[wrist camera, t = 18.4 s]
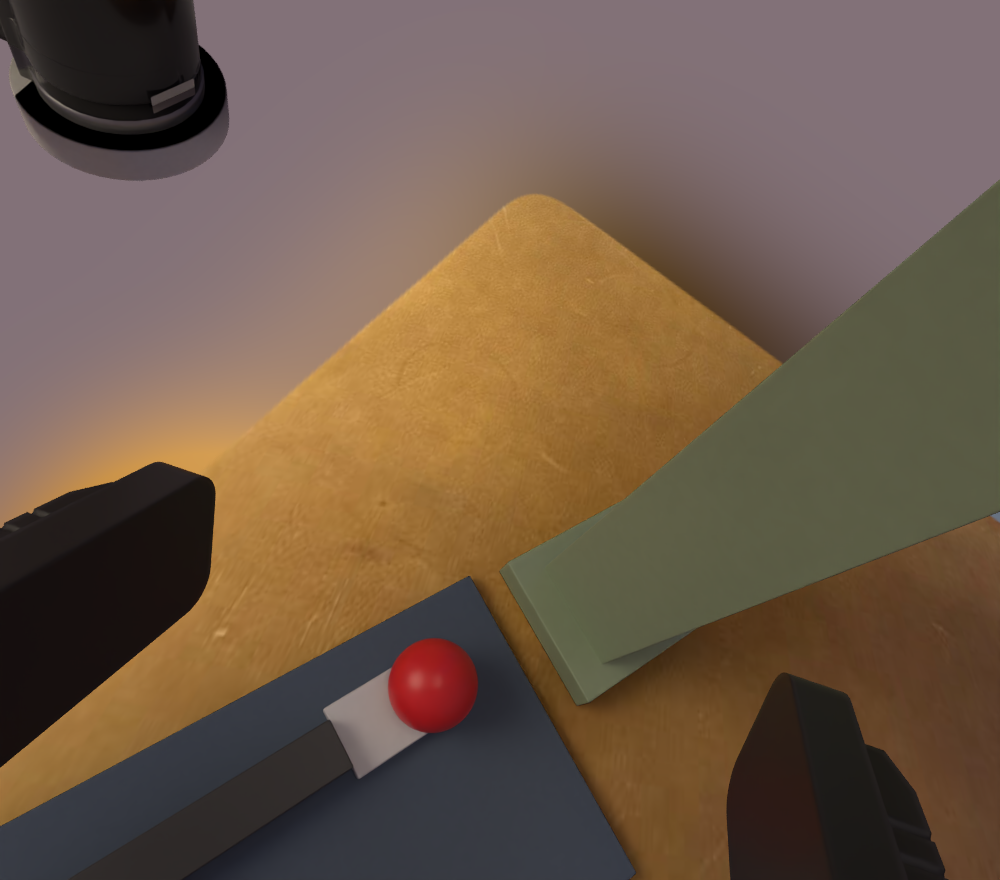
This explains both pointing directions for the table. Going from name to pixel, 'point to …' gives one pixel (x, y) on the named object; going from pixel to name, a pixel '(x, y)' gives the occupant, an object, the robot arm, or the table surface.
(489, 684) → the mat
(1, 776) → the table surface
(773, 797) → the robot arm
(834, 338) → the stand
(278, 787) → the bar with red ball
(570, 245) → the table surface
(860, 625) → the table surface
